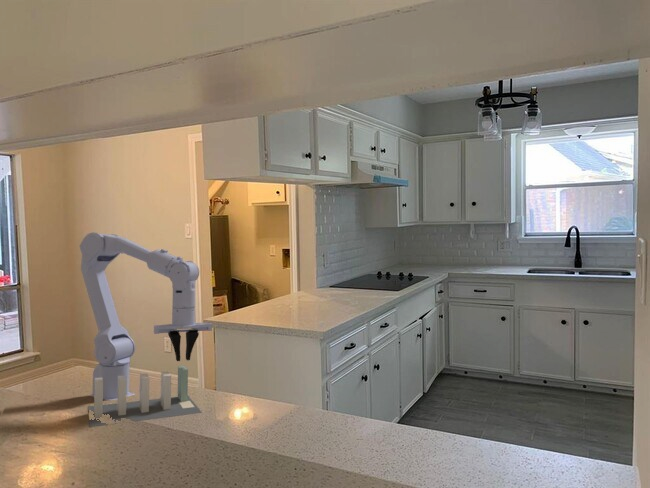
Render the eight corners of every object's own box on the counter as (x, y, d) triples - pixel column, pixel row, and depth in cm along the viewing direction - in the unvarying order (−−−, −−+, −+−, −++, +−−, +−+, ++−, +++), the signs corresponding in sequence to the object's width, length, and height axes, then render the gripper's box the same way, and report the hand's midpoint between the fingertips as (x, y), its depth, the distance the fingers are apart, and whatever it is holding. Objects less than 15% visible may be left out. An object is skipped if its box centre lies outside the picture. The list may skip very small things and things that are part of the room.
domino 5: (181, 401, 125) (181, 369, 126) (177, 397, 130) (178, 366, 130) (187, 401, 126) (187, 369, 126) (183, 396, 130) (184, 365, 131)
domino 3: (141, 412, 116) (142, 378, 116) (139, 407, 120) (139, 374, 121) (148, 411, 117) (149, 377, 117) (146, 406, 121) (146, 373, 121)
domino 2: (118, 415, 114) (119, 380, 114) (117, 409, 118) (117, 376, 119) (126, 414, 114) (126, 379, 115) (124, 409, 119) (124, 375, 119)
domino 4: (163, 410, 118) (164, 376, 119) (160, 404, 123) (161, 372, 123) (170, 409, 119) (171, 375, 119) (167, 403, 123) (167, 371, 124)
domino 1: (94, 418, 112) (95, 382, 112) (94, 412, 116) (94, 378, 116) (102, 417, 112) (103, 381, 113) (101, 411, 117) (102, 377, 117)
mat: (89, 428, 106) (89, 427, 106) (87, 408, 121) (88, 406, 121) (202, 414, 116) (202, 412, 116) (188, 397, 131) (188, 395, 131)
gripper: (156, 309, 122) (155, 365, 122) (215, 307, 129) (214, 360, 128) (153, 307, 128) (152, 360, 128) (208, 305, 135) (208, 355, 134)
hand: (183, 360), depth 128 cm, fingers closed
